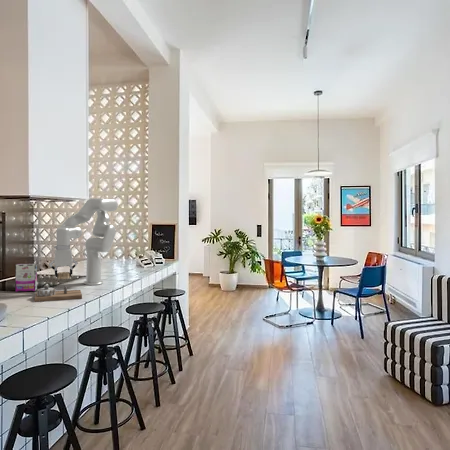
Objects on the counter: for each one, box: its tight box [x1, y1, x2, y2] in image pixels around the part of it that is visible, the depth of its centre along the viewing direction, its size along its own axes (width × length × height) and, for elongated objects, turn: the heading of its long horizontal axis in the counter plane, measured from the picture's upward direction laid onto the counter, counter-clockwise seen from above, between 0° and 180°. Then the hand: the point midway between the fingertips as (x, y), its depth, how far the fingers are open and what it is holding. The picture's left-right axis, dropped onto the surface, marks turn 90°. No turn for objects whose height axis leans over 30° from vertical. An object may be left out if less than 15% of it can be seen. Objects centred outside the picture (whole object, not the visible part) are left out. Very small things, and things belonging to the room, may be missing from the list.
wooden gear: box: [56, 271, 71, 280], centre depth 222 cm, size 7×7×3 cm
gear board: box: [34, 284, 83, 303], centre depth 208 cm, size 15×24×7 cm, turn 115°
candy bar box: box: [14, 263, 38, 293], centre depth 221 cm, size 11×5×16 cm, turn 106°
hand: (63, 276), depth 222 cm, fingers closed on wooden gear, 7 cm apart
